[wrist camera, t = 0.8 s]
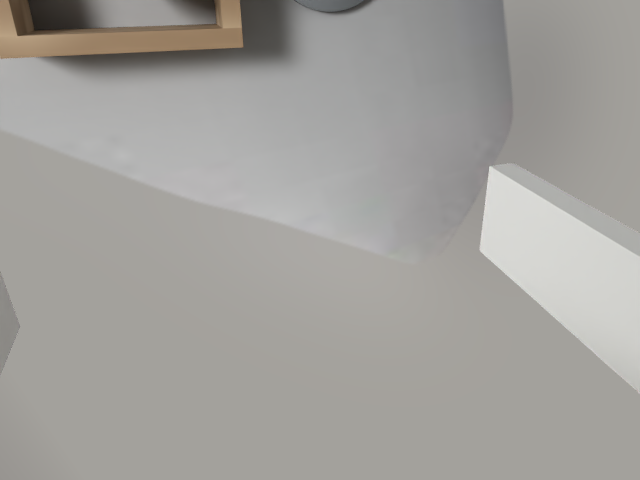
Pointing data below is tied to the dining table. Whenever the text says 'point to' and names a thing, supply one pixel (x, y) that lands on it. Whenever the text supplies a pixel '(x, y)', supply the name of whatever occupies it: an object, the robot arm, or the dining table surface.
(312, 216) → the dining table surface
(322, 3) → the coaster
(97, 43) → the wooden brackets
